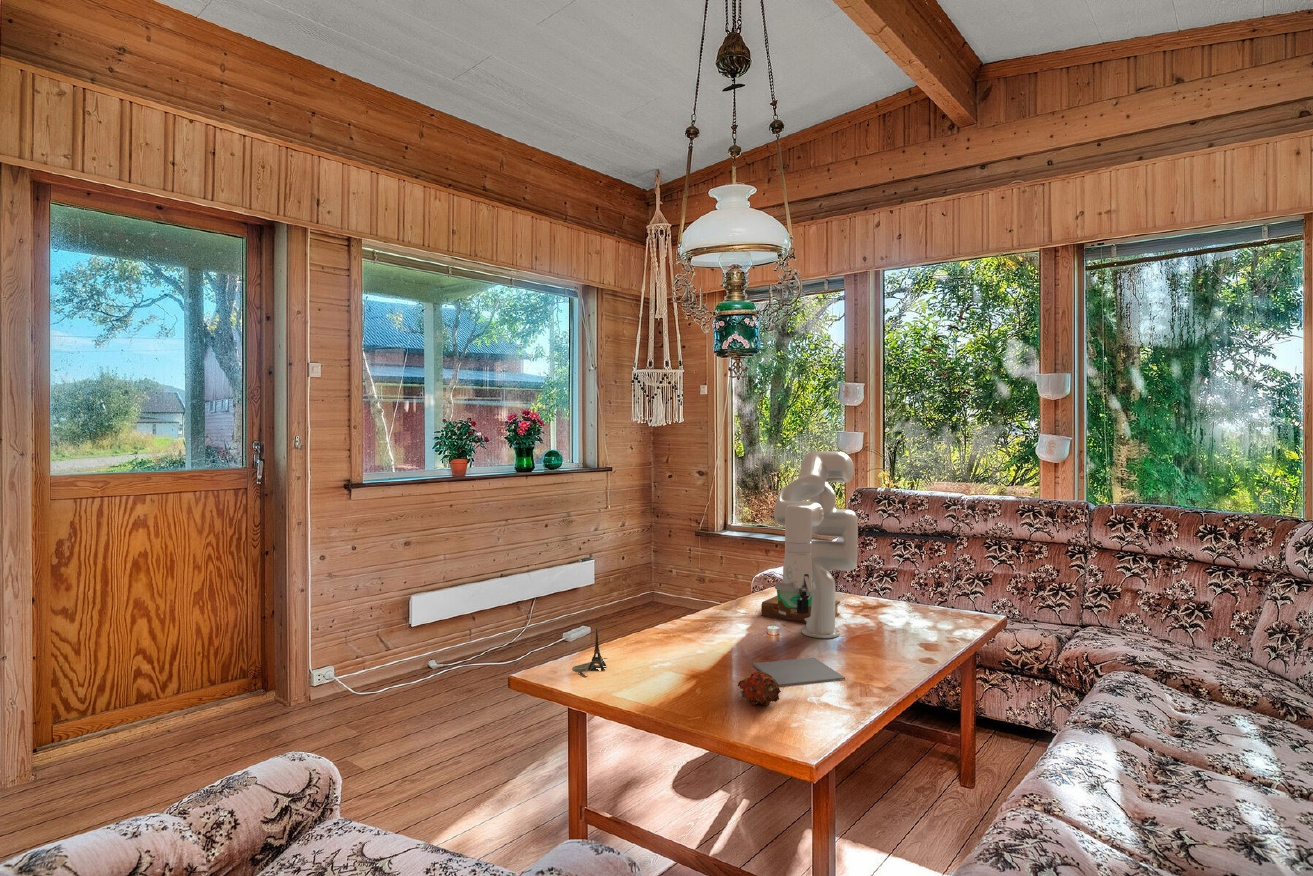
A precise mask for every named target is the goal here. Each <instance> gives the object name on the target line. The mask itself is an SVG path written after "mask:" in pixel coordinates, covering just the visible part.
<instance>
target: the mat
mask: <svg viewBox="0 0 1313 876" xmlns="http://www.w3.org/2000/svg"><path fill="white" fill-rule="evenodd" d="M752 666H753V667H754V668H756V669H757V671H758V672H762V673H763V674H764V673H768V674H769V675H771V676H772V677H773V679H775V680H776V681H777V683H778V684H779V688H780V687H788V686H796V685H806V684H807V685H809V684H815V683H814V682H818V683H825V682H826V683H827V682H834V681H833V680H836V681H841V680H840V679H845V680H846V677H845V676H843V675H842V674H841V673H839V672H838V671H836V670H835V669H833V668H832V667H830V666H829V665H827V664H825V663H824V662H822V661H820V660H819V659H818V658H816V657H806V658H805V657H804V658H795V659H784V660H775V661H773V660H771V661H765V662H753V664H752Z"/></svg>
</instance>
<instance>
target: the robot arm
mask: <svg viewBox="0 0 1313 876" xmlns="http://www.w3.org/2000/svg"><path fill="white" fill-rule="evenodd" d="M854 474H855V466H854V462H853V459H852V458H851V457H850V456H849V455H848V454H847V453H845V452H843V451H835V450H833V451H832V450H831V451H830V450H829V451H827V450H822V451H820V450H817V451H816V450H815V451H810V452H808V453H807V454H806V455H805V456H804V457H803V459H802V461H801V464H800V470H799V474H798V478H796V479H794V480H793V481H791V482H790V483H788V484H786V485H785V486H784V487H782V489H781V490H780V491H779V492H778V494H777V498H776V502H775V505H774V510H773V517H774V521H775V522H776V523H777V525H780V526H782V527H783V526H784V528H785V529H784V556H783V564H782V565H783V566H782V568H783V569H782V583H786V584H793V588H794V589H795V590H798V589H799V592H798V597H799V600H797V613H798V614H806V613H808V600H809V596H810V594H811V592H812V588H811V587H812V579H813V580H814V583H815V587H816V589H815V590H813V598H812V608H811V616H810V617H809V618H805V621H806V623H805V626H803V627H802V628H801V633H802V634H803V635H805V636H807V637H811V638H814V639H815V638H817V639H832V638H833V639H834V638H837V637H839V636H840V635H841V632H840V629H838V628H837V627H836V617H835V600H836V581H835V578H834V577H833V576H832V574H831V572H829V571H830V570H834V571H844V572H845V571H847V572H848V571H849V572H850V571H853V570H855V569H856V567H857V564H858V549H859V548H858V547H859V546H858V544H859V542H858V540H859V537H858V536H859V526H858V525H859V522H858V517H857V514H856V512H855V511H853V510H851V509H848V508H847V509H845V508H837V507H836V499H837V498H836V497H837V495H836V493H835V491H834V489H833V487H832V486H831V485H830V484H829V483H841V484H842V483H845V484H847V483H850V482H851V481H852V480H853V478H854ZM807 500H809V501H807ZM813 536H818V537H827V538H828V537H829V538H841V539H842V540H843V541H835V540H824V539H823V540H822V539H821V540H820V539H819V540H812V539H813ZM802 586H805V588H801V587H802ZM800 588H801V589H800ZM803 590H805V592H803V593H801V591H803Z"/></svg>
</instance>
